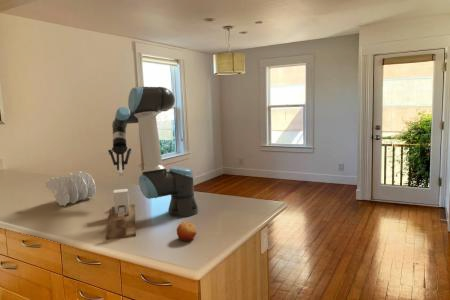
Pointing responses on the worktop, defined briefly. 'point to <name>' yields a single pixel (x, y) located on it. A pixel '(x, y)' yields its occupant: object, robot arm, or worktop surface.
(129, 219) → the walnut board
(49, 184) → the spiral staircase
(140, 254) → the worktop surface
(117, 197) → the sleeve
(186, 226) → the fruit
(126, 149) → the robot arm
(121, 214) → the steel rod
